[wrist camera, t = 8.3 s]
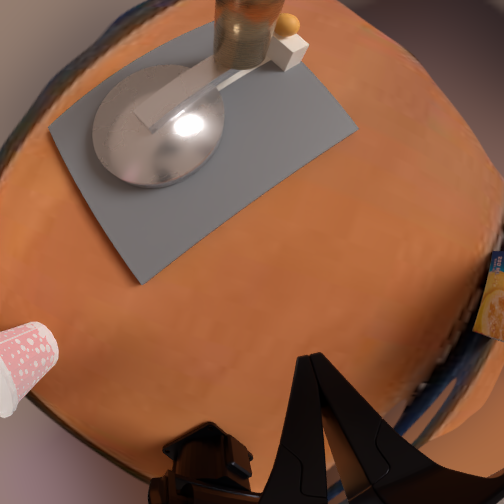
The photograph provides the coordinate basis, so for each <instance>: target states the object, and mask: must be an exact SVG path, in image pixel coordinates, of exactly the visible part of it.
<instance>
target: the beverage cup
mask: <svg viewBox="0 0 504 504" xmlns="http://www.w3.org/2000/svg"><path fill="white" fill-rule="evenodd" d="M58 352H59V350H58V346H57V342H56V340H55V338H54V336H53V335H52V333H51V331H50V330H49V329H48V328H47V327H46V326H45V325H43V324H41V323H39V322H30V323H27V324H24V325H21V326H18V327H15V328H11V329H8V330H5V331H2V332H0V417H3V418H6V417H9V416H11V415H12V414H13V412H14V411H16V408H17V405H18V403H19V401H20V400H21V399H22V398H23V397H24V396H25V395H26V394H27V393H28V392H29V391H30V390H31V389H32V388H33V387H34V385H35V384H36V383H37V382H38V381H39V380H40V379H41V378H42V377H43V376H44V375H45V374H46V373H47V372H48V371H49V370H50V369H51V368H52V367H53V366H54V365H55V364H56V362H57V360H58Z"/></svg>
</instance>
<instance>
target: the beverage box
mask: <svg viewBox="0 0 504 504" xmlns="http://www.w3.org/2000/svg"><path fill="white" fill-rule="evenodd" d="M472 331H474V332H477V333H479V334H482V335H484V336H487V337H490V338H492V339H495V340H498V341H501V342H504V251H493V252H492V258H491V263H490V268H489V273H488V277H487V282H486V286H485V290H484V294H483V297H482V301H481V305H480V308H479V311H478V315H477V318H476V321H475V324H474V327H473V330H472Z"/></svg>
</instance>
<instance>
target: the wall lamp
mask: <svg viewBox="0 0 504 504" xmlns="http://www.w3.org/2000/svg"><path fill="white" fill-rule="evenodd" d="M284 1H285V0H216V3H215V20H214V40H213V55H211V56H210V57H208V58H206V59H205V60H203V61H201V62H200V63H198V64H197V65H195V66H193V67H192V68H189V67H185V66H180V65H157V66H152V67H148V68H145V69H142V70H140V71H137V72H135V73H133V74H131V75H130V76H128V77H126V78H125V79H123V80H122V81H121V82H119V83H118V84H117V85H116V86H115V87H114V88H113V89H112V90H111V91H110V92H109V93H108V94H107V96H106V97H105V98H104V100H103V101H102V103H101V105H100V106H99V109H98V111H97V113H96V116H95V119H94V124H93V132H92V138H93V145H94V149H95V152H96V154H97V156H98V158H99V160H100V161H101V163H102V164H103V165H104V167H105V168H106V169H107V170H108V171H110V172H111V173H112V174H114V175H115V176H116V177H118V178H119V179H121V180H122V181H124V182H126V183H128V184H131V185H134V186H138V187H143V188H160V187H166V186H170V185H173V184H176V183H179V182H181V181H183V180H185V179H187V178H189V177H190V176H192V175H194V174H195V173H196V172H198V171H199V170H200V169H201V168H202V167H203V166H204V165H205V164H206V163H207V162H208V161H209V160H210V159H211V157H212V156H213V154H214V153H215V151H216V150H217V147H218V145H219V143H220V140H221V137H222V133H223V127H224V104H223V100H222V97H221V95H220V93H219V91H218V89H217V87H216V86H217V85H219V84H220V83H222V82H223V81H225V80H227V79H228V78H230V77H231V76H233V75H234V74H236V73H238V72H239V71H241V70H248V69H252V68H255V67H257V66H259V65H260V64H261V63H262V62H263V61H264V60H265V57H266V54H267V51H268V48H269V45H270V42H271V39H272V36H273V33H274V30H275V27H276V24H277V21H278V18H279V16H280V13H281V10H282V7H283V4H284Z"/></svg>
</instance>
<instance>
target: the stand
mask: <svg viewBox="0 0 504 504" xmlns="http://www.w3.org/2000/svg"><path fill="white" fill-rule="evenodd" d="M299 27H300V24H299V21H298V19H297V18H296V17H295V16H293V15H291V14H287V13H283V14H280V16H279V18H278V21H277V24H276V27H275V30H274V33H273V36H272V39H271V42H270V45H269V48H268V51H267V54H266V57H265V60H264V61H263V62H262V63H261V64H260V65H259V66H257V67H255V68H252V69H248V70H241V71H239V72H238V73H236V74H234V75H233V76H231V77H230V78H228V79H227V80H225V81H223V82H222V83H220V84H219V85H217V86H216V87H217V89H218V91H219V93H220V95H221V97H222V100H223V104H224V127H223V133H222V137H221V140H220V143H219V145H218V147H217V150H216V151H215V153H214V154H213V156H212V157H211V159H210V160H209V161H208V162H207V163H206V164H205V165H204V166H203V167H202V168H201V169H200V170H199V171H198V172H196V173H195V174H194V175H192V176H190V177H189V178H187V179H185V180H183V181H181V182H179V183H176V184H173V185H170V186H166V187H160V188H143V187H138V186H134V185H131V184H128V183H126V182H124V181H122V180H121V179H119V178H118V177H116V176H115V175H114V174H112V173H111V172H110V171H108V170H107V169H106V168H105V167H104V165H103V164H102V163H101V161H100V160H99V158H98V156H97V154H96V152H95V149H94V145H93V138H92V132H93V124H94V119H95V116H96V113H97V111H98V109H99V106H100V105H101V103H102V101H103V100H104V98H105V97H106V96H107V94H108V93H109V92H110V91H111V90H112V89H113V88H114V87H115V86H116V85H117V84H118V83H119V82H121V81H122V80H123V79H125V78H126V77H128V76H130V75H131V74H133V73H135V72H137V71H140V70H142V69H145V68H148V67H152V66H157V65H180V66H185V67H189V68H192V67H193V66H195V65H197V64H198V63H200V62H201V61H203V60H205V59H206V58H208V57H210V56H211V55H213V40H214V21H213V22H210V23H208V24H205V25H203V26H201V27H198V28H196V29H194V30H191V31H189V32H187V33H185V34H183V35H181V36H179V37H177V38H175V39H173V40H171V41H169V42H167V43H165V44H163V45H161V46H159V47H157V48H155V49H154V50H152V51H150V52H148V53H147V54H145V55H143V56H141V57H140V58H138V59H136V60H135V61H133V62H132V63H130V64H128V65H127V66H125V67H124V68H122V69H121V70H119V71H118V72H116V73H115V74H113V75H112V76H110V77H109V78H107V79H106V80H104V81H103V82H102V83H100V84H99V85H98V86H96V87H95V88H94V89H92V90H91V91H90V92H88V93H87V94H86V95H84V96H83V97H82V98H81V99H79V100H78V101H77V102H76V103H75V104H73V105H72V106H71V107H70V108H69V109H67V110H66V111H65V112H64V113H63V114H62V115H61V116H59V117H58V118H57V119H56V120H55V121H54V122H53V123H52V124H51V125H50V126H49V127H48V128H49V131H50V133H51V135H52V137H53V139H54V141H55V144H56V146H57V148H58V150H59V152H60V154H61V156H62V158H63V160H64V162H65V164H66V166H67V167H68V169H69V171H70V173H71V175H72V177H73V179H74V181H75V182H76V184H77V186H78V188H79V190H80V191H81V193H82V195H83V197H84V198H85V200H86V202H87V203H88V205H89V207H90V208H91V210H92V212H93V213H94V215H95V217H96V218H97V220H98V222H99V223H100V225H101V226H102V228H103V230H104V231H105V233H106V234H107V236H108V237H109V239H110V240H111V242H112V243H113V245H114V246H115V248H116V249H117V251H118V252H119V254H120V255H121V257H122V258H123V260H124V261H125V263H126V264H127V265H128V267H129V268H130V270H131V271H132V272H133V274H134V275H135V277H136V278H137V279H138V281H139V282H140V283H141V285H144V284H145V283H146V282H148V281H149V280H150V279H151V278H153V277H154V276H155V275H157V274H158V273H159V272H160V271H162V270H163V269H164V268H165V267H167V266H168V265H169V264H170V263H172V262H173V261H174V260H176V259H177V258H178V257H179V256H181V255H182V254H183V253H185V252H186V251H187V250H189V249H190V248H191V247H192V246H194V245H195V244H196V243H198V242H199V241H200V240H202V239H203V238H204V237H206V236H207V235H208V234H210V233H211V232H212V231H214V230H215V229H216V228H218V227H219V226H220V225H222V224H223V223H224V222H226V221H227V220H228V219H230V218H231V217H232V216H234V215H235V214H237V213H238V212H239V211H241V210H242V209H243V208H245V207H246V206H248V205H249V204H250V203H252V202H253V201H254V200H256V199H257V198H259V197H260V196H261V195H263V194H264V193H266V192H267V191H269V190H270V189H271V188H273V187H274V186H276V185H277V184H278V183H280V182H281V181H283V180H284V179H286V178H287V177H288V176H290V175H291V174H293V173H294V172H296V171H297V170H299V169H300V168H302V167H303V166H304V165H306V164H307V163H309V162H310V161H312V160H313V159H315V158H316V157H318V156H319V155H321V154H322V153H324V152H325V151H327V150H328V149H330V148H331V147H333V146H334V145H336V144H337V143H339V142H340V141H342V140H343V139H345V138H346V137H348V136H350V135H351V134H353V133H354V132H355V131H357V130H358V129H359V128H358V127H357V126H356V124H355V123H354V122H353V120H352V119H351V118H350V116H349V115H348V114H347V113H346V111H345V110H344V109H343V108H342V106H341V105H340V104H339V103H338V101H337V100H336V99H335V98H334V97H333V95H332V94H331V93H330V92H329V91H328V90H327V88H326V87H325V86H324V85H323V84H322V83H321V82H320V80H319V79H318V78H317V77H316V76H315V75H314V74H313V73H312V72H311V71H310V70H309V69H308V67H307V66H306V65H305V64H304V63H303V62H302V61H301V60H302V58H303V56H304V54H305V52H306V50H307V48H308V47H309V44H308V43H307V42H306V41H305V40H303V39H302V38H301V37H300V36H299V35H297V34H296V33H297V32H298V30H299Z"/></svg>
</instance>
